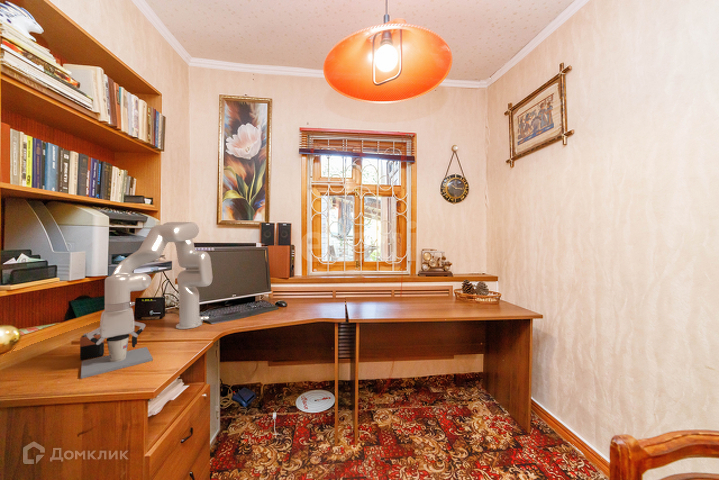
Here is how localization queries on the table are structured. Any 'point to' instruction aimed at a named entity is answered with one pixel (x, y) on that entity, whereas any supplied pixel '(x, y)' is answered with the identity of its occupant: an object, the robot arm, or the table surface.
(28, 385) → the table surface
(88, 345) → the battery
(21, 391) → the table surface
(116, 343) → the coffee cup
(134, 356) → the desk mat
